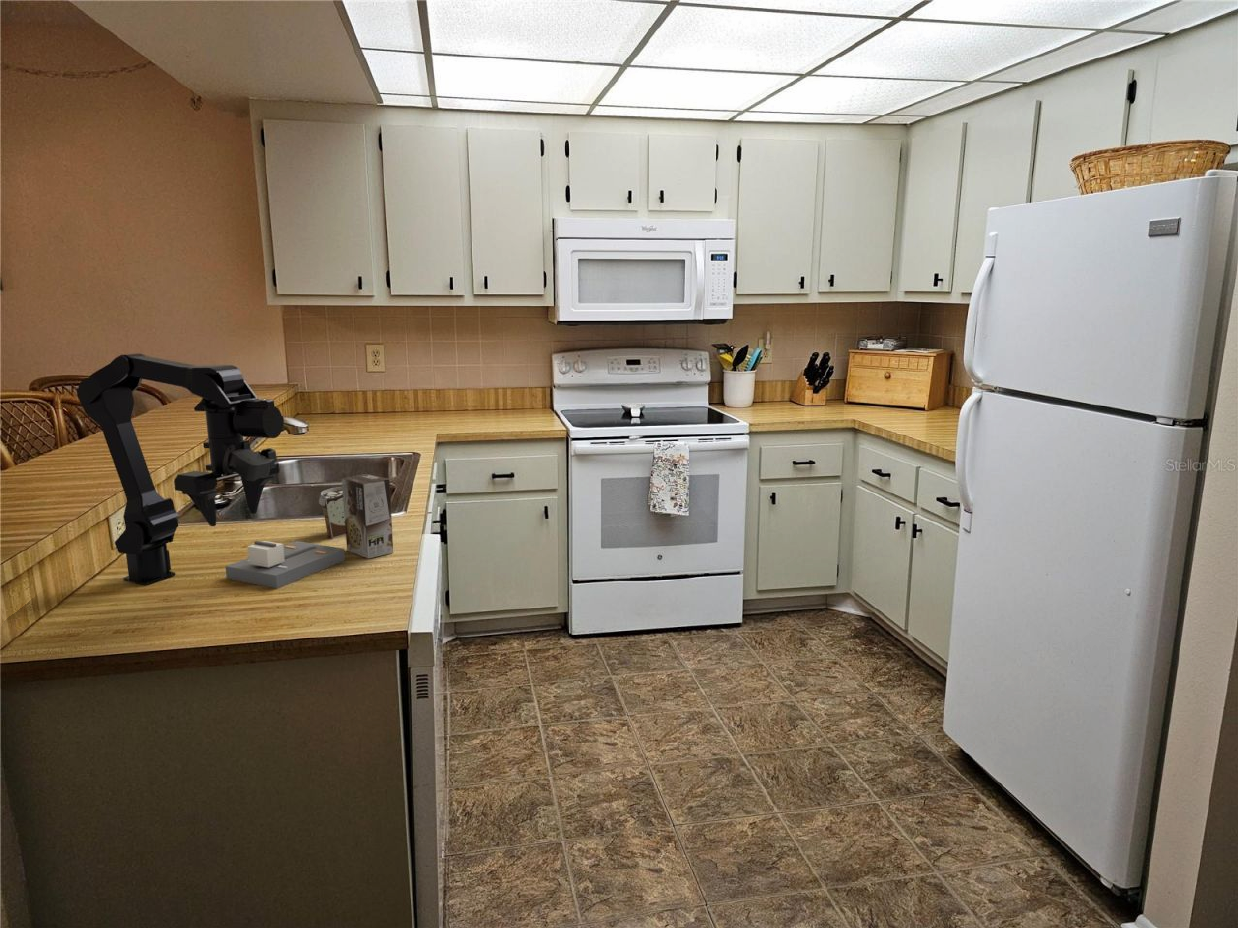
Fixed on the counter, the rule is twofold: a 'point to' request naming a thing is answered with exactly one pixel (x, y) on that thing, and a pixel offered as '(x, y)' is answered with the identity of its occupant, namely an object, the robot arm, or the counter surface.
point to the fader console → (287, 565)
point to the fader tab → (265, 553)
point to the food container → (333, 511)
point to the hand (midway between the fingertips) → (233, 519)
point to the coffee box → (367, 515)
